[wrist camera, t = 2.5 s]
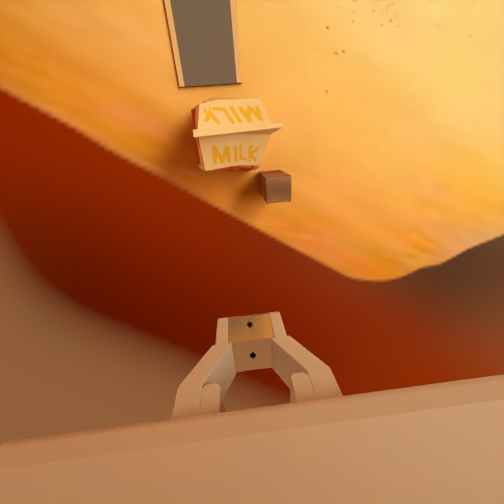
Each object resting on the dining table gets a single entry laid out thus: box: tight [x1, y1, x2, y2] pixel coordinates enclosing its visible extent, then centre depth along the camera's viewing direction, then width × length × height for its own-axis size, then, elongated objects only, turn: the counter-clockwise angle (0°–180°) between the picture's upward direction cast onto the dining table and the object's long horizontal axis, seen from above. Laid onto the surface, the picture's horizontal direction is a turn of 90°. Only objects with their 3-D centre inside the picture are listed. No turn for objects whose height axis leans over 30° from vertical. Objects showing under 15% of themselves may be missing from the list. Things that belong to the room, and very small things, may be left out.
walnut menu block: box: [259, 170, 291, 203], centre depth 35 cm, size 4×4×8 cm
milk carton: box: [191, 98, 283, 171], centre depth 26 cm, size 9×9×20 cm
